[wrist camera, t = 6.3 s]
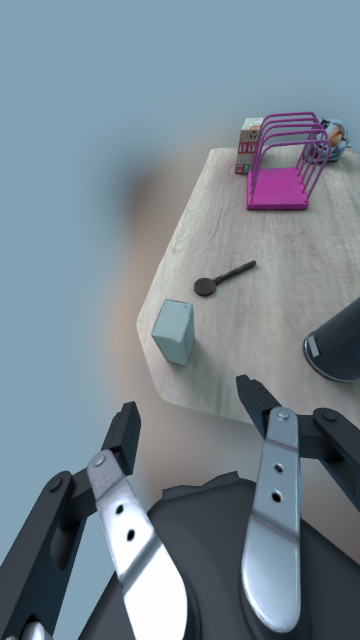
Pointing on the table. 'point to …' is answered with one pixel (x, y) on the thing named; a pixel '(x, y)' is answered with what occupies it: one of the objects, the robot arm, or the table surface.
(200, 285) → the spoon
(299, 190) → the file sorter
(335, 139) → the lucky cat figurine
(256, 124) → the stack of blocks
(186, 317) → the cosmetic box
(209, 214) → the table surface
